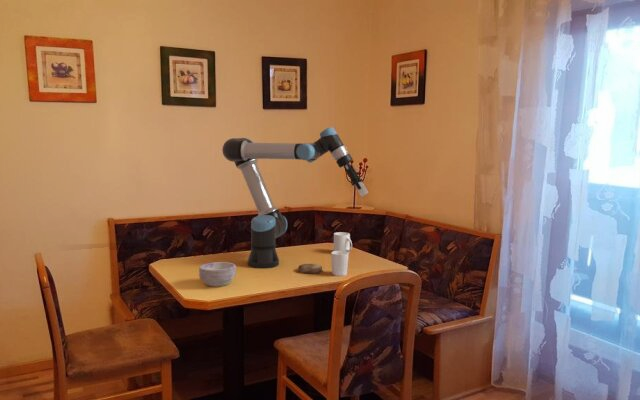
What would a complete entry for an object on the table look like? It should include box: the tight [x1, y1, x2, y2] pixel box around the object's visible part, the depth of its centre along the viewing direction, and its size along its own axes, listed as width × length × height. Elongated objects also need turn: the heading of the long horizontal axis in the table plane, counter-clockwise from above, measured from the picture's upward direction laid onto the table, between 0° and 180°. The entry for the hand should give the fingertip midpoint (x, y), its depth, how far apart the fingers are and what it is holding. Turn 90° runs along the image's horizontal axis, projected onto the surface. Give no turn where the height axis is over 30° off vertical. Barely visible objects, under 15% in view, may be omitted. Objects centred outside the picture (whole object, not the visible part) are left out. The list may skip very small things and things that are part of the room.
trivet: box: [298, 263, 323, 275], centre depth 241 cm, size 11×11×2 cm
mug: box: [333, 231, 353, 254], centre depth 276 cm, size 9×12×11 cm
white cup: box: [330, 250, 350, 277], centre depth 236 cm, size 8×8×10 cm
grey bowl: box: [198, 261, 237, 287], centre depth 218 cm, size 15×15×8 cm
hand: (365, 194), depth 248 cm, fingers open, 13 cm apart
